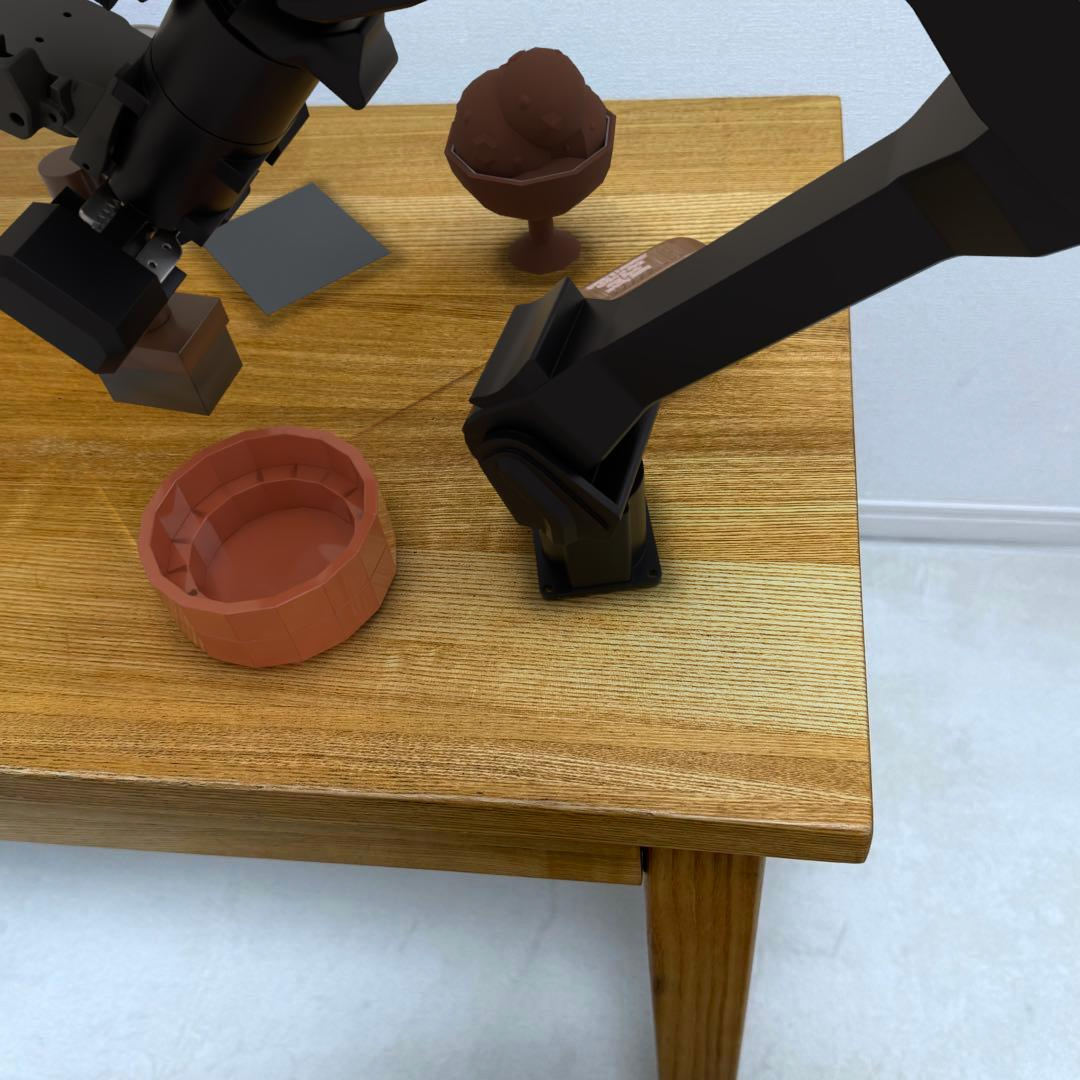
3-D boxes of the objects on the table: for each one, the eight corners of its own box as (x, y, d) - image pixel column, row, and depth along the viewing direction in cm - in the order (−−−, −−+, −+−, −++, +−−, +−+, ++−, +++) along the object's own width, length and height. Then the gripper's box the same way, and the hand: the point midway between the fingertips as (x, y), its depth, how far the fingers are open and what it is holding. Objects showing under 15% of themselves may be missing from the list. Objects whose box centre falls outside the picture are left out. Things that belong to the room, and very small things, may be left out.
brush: (248, 363, 59) (152, 137, 48) (211, 419, 56) (100, 194, 46) (149, 349, 61) (34, 128, 50) (108, 404, 58) (-22, 183, 48)
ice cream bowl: (624, 207, 78) (616, -3, 66) (616, 308, 71) (604, 94, 59) (480, 211, 79) (446, 6, 67) (458, 310, 72) (417, 102, 61)
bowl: (400, 654, 56) (378, 593, 51) (164, 687, 56) (122, 629, 51) (396, 477, 63) (376, 411, 59) (189, 507, 64) (154, 443, 59)
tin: (550, 460, 63) (535, 351, 56) (519, 431, 65) (501, 322, 58) (741, 343, 68) (748, 230, 61) (708, 319, 69) (711, 207, 63)
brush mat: (393, 259, 77) (391, 252, 76) (269, 322, 74) (266, 315, 73) (314, 188, 83) (312, 181, 83) (197, 243, 80) (194, 236, 80)
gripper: (160, -174, 45) (60, 69, 56) (-132, 55, 34) (-181, 297, 45) (376, 21, 49) (242, 211, 60) (177, 281, 38) (59, 451, 49)
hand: (105, 281), depth 54 cm, fingers closed on brush, 2 cm apart
